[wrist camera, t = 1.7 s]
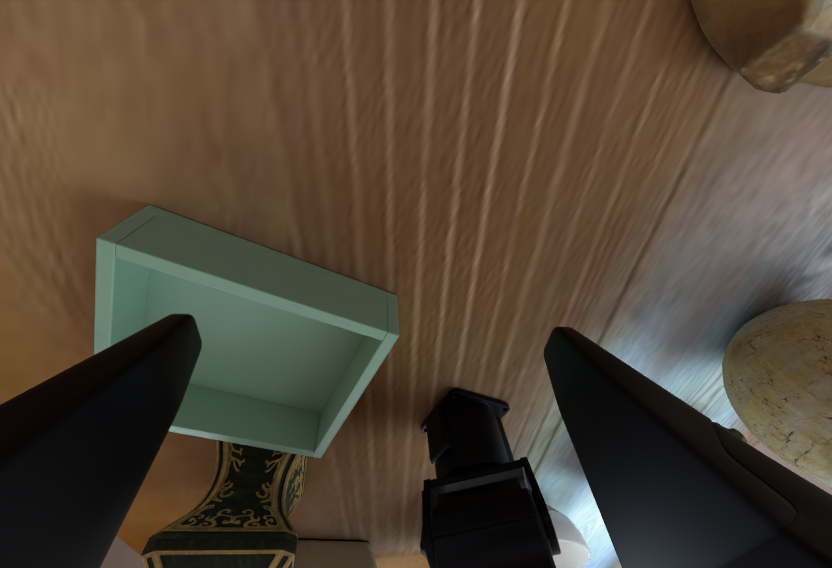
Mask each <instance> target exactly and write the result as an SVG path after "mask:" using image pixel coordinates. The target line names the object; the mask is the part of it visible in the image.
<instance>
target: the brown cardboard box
mask: <svg viewBox="0 0 832 568" xmlns="http://www.w3.org/2000/svg"><path fill="white" fill-rule="evenodd" d="M295 568H377V566H376V562H375V558H374V555H373V552H372V548H371V545H370V544H369V543H367V542H351V541H319V540H298V543H297V552H296V561H295Z"/></svg>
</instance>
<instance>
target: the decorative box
mask: <svg viewBox="0 0 832 568" xmlns="http://www.w3.org/2000/svg"><path fill="white" fill-rule="evenodd" d="M216 451H217V457H216V468H215V473H214V476H213V480H212V482H211V485H210V487H209V489H208V491H207V493H206V494H205V496H204V497H203V499H202V500H201V501H200V502H199V504H198V505H197V506H196V507H195V508H194V509H193V510H191V511H190V512H189V513H188V514H186V515H185V516H183V517H181V518H180V519H178V520H176V521H175V522H173V523H172V524H170V525H168V526H167V527H165V528H163V529H162V530H160V531H159V532H157V533H155V534H154V535H152V536H151V537H150V538H149V540H148V542H147V544H146V546H145V548H144V550H143V552H142V559H143V562H144V566H145V568H295V561H296V552H297V543H298V535H297V534H296V532H295V530H294V528H293V526H292V524H291V523H290V521H289V519H290V517H291V515H292V513H293V511H294V510H295V508H296V506H297V505H298V503H299V501H300V500H301V498H302V496H303V490H304V481H305V473H306V464H307V456H304V455H298V454H293V453H287V452H282V451H276V450H270V449H265V448H259V447H254V446H248V445H243V444H237V443H231V442H226V441H220V440H216Z"/></svg>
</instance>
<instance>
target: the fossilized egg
mask: <svg viewBox="0 0 832 568" xmlns="http://www.w3.org/2000/svg"><path fill="white" fill-rule="evenodd" d="M722 370H723V381H724V387H725V390H726V393H727V396H728V398H729V401H730V403H731V405H732V407H733V408H734V410H735V411H736V413H737V414H738V416H739V417H740V419H741V420H742V422H743V423H744V425H745V426H746V427H747V429H748V430H749V431H750V432H751V433H752V434H753V435H754V436H755V437H756V438H757V439H758V440H759V441H760V442H761V443H762V444H763V445H765V446H766V447H767V448H768V449H769V450H771V451H772V452H773V453H775V454H776V455H777V456H779V457H780V458H781V459H783V460H784V461H786V462H787V463H788V464H790V465H791V466H793V467H794V468H796V469H797V470H799V471H801V472H803V473H804V474H806V475H808V476H809V477H811V478H813V479H815V480H817V481H818V482H820V483H822V484H824V485H825V486H828V487H830V488H832V299H819V300H810V301H803V302H797V303H791V304H786V305H782V306H779V307H776V308H773V309H771V310H769V311H766V312H764V313H762V314H760V315H758V316H756V317H755V318H753V319H751V320H750V321H748V322H747V323H746V324H745V325H743V326H742V327H741V328H740V329H739V330H738V331H737V332H736V334H735V335H734V336H733V337H732V339H731V340H730V342H729V344H728V346H727V348H726V351H725V355H724V359H723V363H722Z"/></svg>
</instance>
